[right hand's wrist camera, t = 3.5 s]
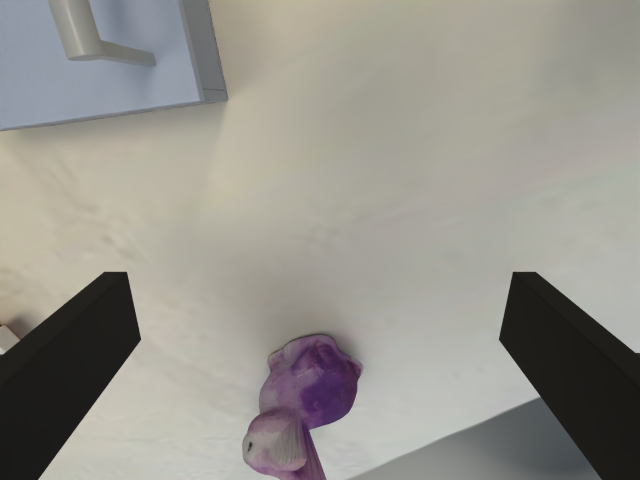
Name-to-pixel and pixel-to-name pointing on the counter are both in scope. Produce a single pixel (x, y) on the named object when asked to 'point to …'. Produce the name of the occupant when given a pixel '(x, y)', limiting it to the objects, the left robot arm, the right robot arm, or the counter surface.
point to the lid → (93, 59)
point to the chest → (205, 59)
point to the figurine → (300, 407)
